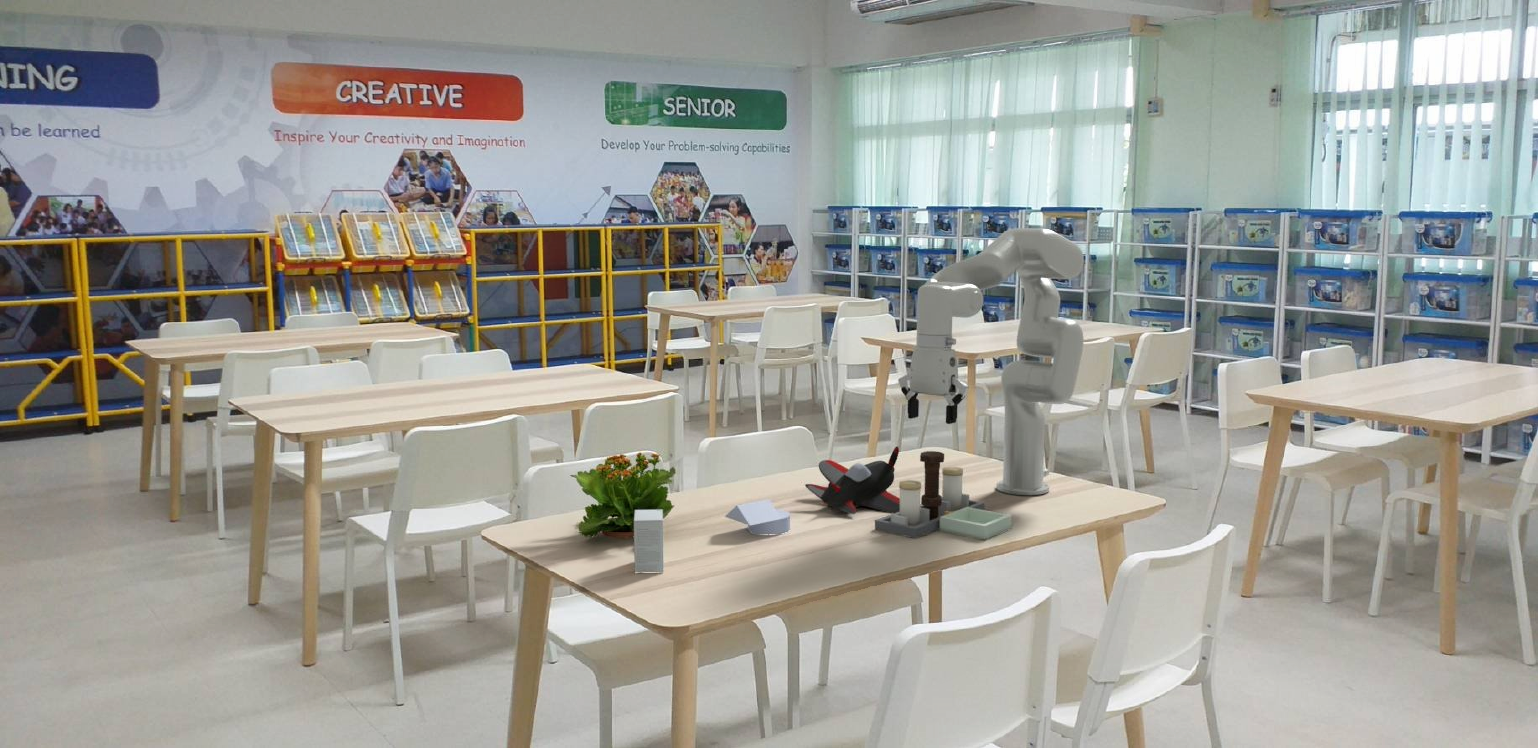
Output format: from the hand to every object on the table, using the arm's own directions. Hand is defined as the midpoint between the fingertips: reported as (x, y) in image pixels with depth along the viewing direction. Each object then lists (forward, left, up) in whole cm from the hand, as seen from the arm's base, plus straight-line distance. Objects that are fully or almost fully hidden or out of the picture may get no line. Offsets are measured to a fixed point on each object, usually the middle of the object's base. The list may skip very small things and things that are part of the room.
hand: (931, 420), depth 256 cm
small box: (+63, -23, -23) cm, 71 cm away
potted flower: (+49, -45, -23) cm, 70 cm away
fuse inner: (-9, 0, -22) cm, 24 cm away
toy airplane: (-1, -20, -23) cm, 31 cm away
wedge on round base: (+30, -23, -23) cm, 44 cm away
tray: (0, +12, -22) cm, 25 cm away
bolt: (0, 0, -23) cm, 23 cm away
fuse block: (0, 0, -22) cm, 22 cm away
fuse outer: (+8, 0, -22) cm, 24 cm away
